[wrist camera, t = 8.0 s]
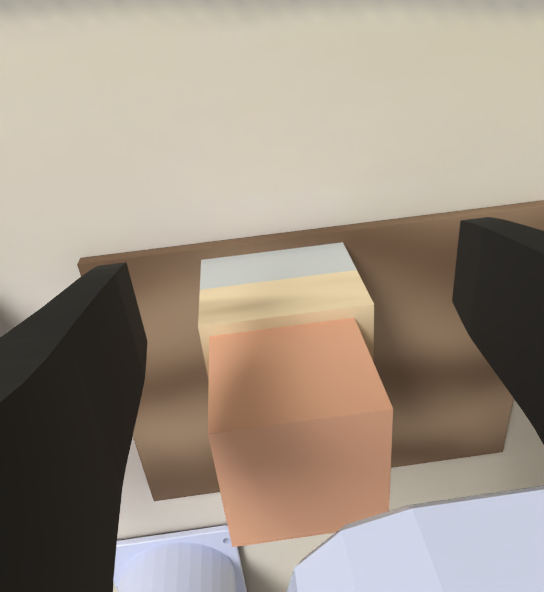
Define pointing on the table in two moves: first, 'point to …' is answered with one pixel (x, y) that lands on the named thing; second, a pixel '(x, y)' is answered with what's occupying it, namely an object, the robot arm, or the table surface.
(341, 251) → the slab bottom
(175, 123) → the table surface
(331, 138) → the table surface
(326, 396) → the block
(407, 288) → the board
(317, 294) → the slab top
